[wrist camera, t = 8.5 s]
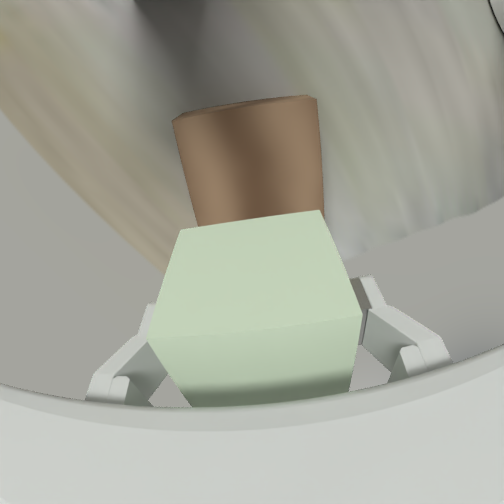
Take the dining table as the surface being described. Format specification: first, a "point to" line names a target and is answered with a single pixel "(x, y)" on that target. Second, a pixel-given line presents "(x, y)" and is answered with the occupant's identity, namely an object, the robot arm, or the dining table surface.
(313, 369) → the sage cube
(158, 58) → the dining table surface
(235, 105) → the walnut block
